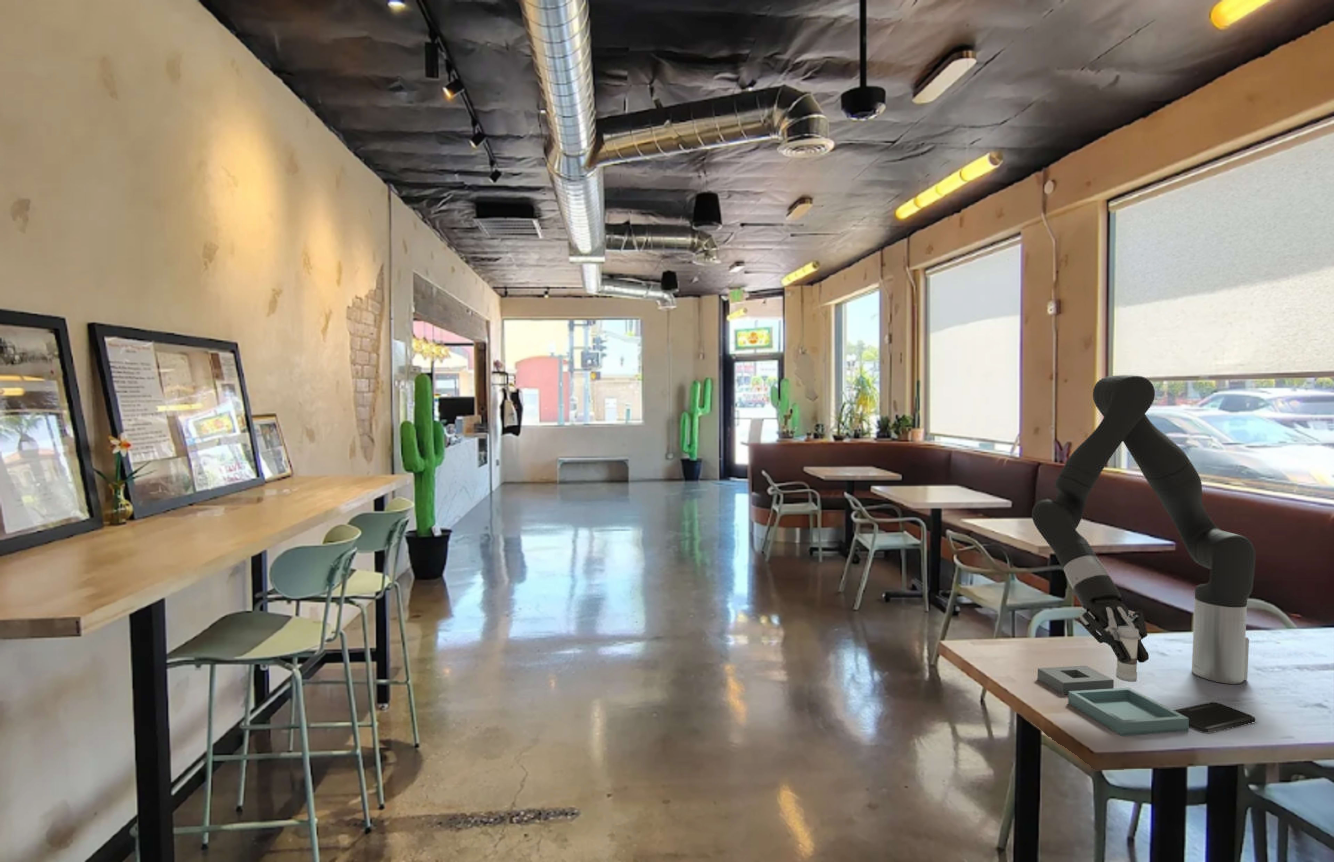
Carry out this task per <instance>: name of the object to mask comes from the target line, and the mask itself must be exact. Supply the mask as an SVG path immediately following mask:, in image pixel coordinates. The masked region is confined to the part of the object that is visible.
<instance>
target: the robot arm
mask: <svg viewBox="0 0 1334 862" xmlns="http://www.w3.org/2000/svg"><path fill="white" fill-rule="evenodd" d="M1155 395H1156V392H1155V387H1154V385H1153V382H1152V381H1150V380H1149V378H1147V377H1144V376H1142V375H1138V374H1117V375H1109V376H1104V377H1102V378H1101V379H1099V380H1098V381H1097V382H1096V383H1095V385H1094V387H1093V391H1092V399H1093V402H1094V404H1095V407H1096V408H1097V410H1098V411H1099V413H1100V414H1101V415H1102V416H1103V418H1102V419H1101V421H1100V423H1099V424H1098V426H1097V427H1096V428H1095V429H1094V430H1093V431H1092V433H1091V434H1090V435H1089V436H1088V437H1087V438H1086V439H1085V440H1084V441H1083V442H1082V443H1081V444H1080V445H1078V447H1077V448H1076V449H1075V450H1074V451H1073V452H1072V453H1071V455H1070V456H1069V458H1068V459H1067V461H1066V463H1065V464H1064V465H1063V468H1062V469H1061V471H1060V473H1059V474H1058V476H1057V477H1056V481H1055V483H1054V487H1055V490H1056V492H1057V496H1056V499H1048V498H1047V499H1041V500H1039V501H1038V502H1037V503H1035V504H1034V506H1033V508H1032V511H1031V519H1032V522H1033V524H1034V526H1035V527H1036V529H1037V531H1038V532H1039V534H1041V536H1042V538H1043V539H1044V540H1045V542H1046V543H1047V544H1048V545H1049V547H1050V548H1051V549H1052V551H1053V553H1054V554H1055V556H1056V559H1057V561H1058V562H1059V565H1060V566H1061V568H1062V569H1063V571H1064V574H1065V578H1066V579H1067V581H1068V583H1069V585H1070V587H1071V588H1072V590H1073V593H1074V594H1075V596H1076V598H1077V599H1078V601H1079V603H1080V605H1081V607H1082V608H1083V609H1084V610H1085V612H1084V613H1082V614H1081V615H1080V616H1079V617H1078V618H1077V621H1078V622H1079V623H1080V624H1081V626H1083V628H1084V629H1085V630H1086V631H1087V632H1088V633H1089V634H1090V635H1091V636H1092V637H1093V638H1094V639H1095V640H1096V641H1097V642H1098V643H1099V644H1103V643H1104V644H1107V645H1108V646H1109V647H1111V650H1112V651H1113V653H1114V655H1115V657H1116V659H1117V658H1118V659H1119V661H1121V663H1128V662H1129V661H1130V660H1131V656H1130V655H1129V653H1128V651H1127V649H1126V648H1125V646H1124V644H1123V642H1122V641H1119V640H1120V638H1119V635H1118V626H1130V627H1134V628H1137V629H1138V630H1139V638H1138V648H1137V663H1145V662H1147V661H1148V660H1149V657H1150V656H1149V653H1148V651H1147V649H1146V647H1145V646H1144V643H1143V642H1142V640H1143V639H1144V638H1147V637H1148V631H1147V627H1146V620H1145V616H1144V612H1142V611H1141V610H1136V611H1133V610H1130V609H1129V608H1128V607H1127V606H1126V605H1125V604H1124V603H1123V601H1122V595H1121V592H1120V591H1119V589H1118V587H1117V586H1116V585H1115V583H1114V581H1113V579H1112V577H1111V576H1110V574H1109V572H1108V571H1107V569H1106V567H1105V566H1104V565H1103V563H1102V562H1101V561H1100V559H1099V558H1098V556H1097V555H1096V553H1095V552H1094V550H1093V548H1092V546H1091V545H1090V544H1089V542H1088V541H1087V540H1086V539H1085V537H1084V536H1082V534H1080V533H1079V532H1078V531H1077V528H1078V527H1079V525H1080V523H1081V520H1082V517H1083V515H1084V511H1085V507H1086V505H1087V499H1088V496H1089V494H1090V493H1091V491H1092V489H1093V488H1094V486H1095V484H1096V482H1097V481H1098V479H1099V477H1100V475H1101V473H1102V472H1103V470H1104V468H1105V466H1106V465H1107V464H1108V462H1109V461H1110V459H1111V458H1112V456H1113V455H1114V453H1116V451H1117V450H1118V448H1119V447H1120V446H1121V445H1122V443H1123V444H1124V445H1125V448H1127V450H1128V452H1129V453H1130V455H1131V457H1132V458H1133V461H1134V462H1135V463H1136V465H1137V466H1138V469H1140V471H1141V473H1142V475H1143V477H1144V478H1145V480H1146V481H1147V482H1148V485H1149V487H1150V488H1151V489H1152V491H1153V492H1154V493H1155V495H1156V496H1157V498H1158V500H1159V501H1160V503H1161V504H1162V506H1163V508H1164V509H1165V511H1166V512H1167V514H1168V515H1169V517H1170V518H1171V521H1172V522H1173V523H1174V525H1175V528H1176V529H1177V532H1178V534H1179V536H1180V538H1181V541H1182V542H1183V545H1184V547H1185V549H1186V551H1187V553H1188V554H1189V556H1190V557H1191V559H1193V561H1194V562H1195V563H1196V564H1197V565H1200V566H1202V567H1203V568H1206V569H1209V570H1210V575H1209V581H1208V582H1207V583H1200V584H1198V585H1197V586H1195V589H1194V610H1193V611H1194V612H1193V614H1194V615H1193V633H1192V635H1193V636H1192V637H1193V638H1192V655H1191V657H1192V659H1191V672H1192V673H1193V674H1194V675H1196V676H1198V677H1199V678H1202V679H1206V680H1209V681H1212V682H1216V683H1223V684H1231V685H1232V684H1233V685H1235V684H1236V685H1237V684H1242V683H1243V682H1244V681H1247V680H1248V675H1249V674H1248V672H1249V650H1250V648H1249V647H1250V639H1249V637H1247V636H1246V633H1247V632H1246V631H1247V612H1248V611H1247V610H1248V607H1247V606H1248V599H1249V597H1250V596H1251V594H1252V591H1253V587H1254V577H1255V570H1256V549H1255V548H1254V547H1255V546H1254V545H1253V543H1252V542H1251V540H1250V539H1248V538H1247V537H1246V536H1244V535H1241V534H1238V533H1232V532H1230V531H1225V530H1221V529H1220V528H1219V527H1218V526H1217V525H1216V524H1215V522H1214V521H1213V520H1212V519H1211V517H1210V516H1209V514H1208V513H1207V511H1206V509H1205V507H1204V504H1203V485H1202V480H1201V479H1202V478H1201V477H1200V474H1199V473H1198V471H1197V469H1196V468H1195V466H1194V465H1193V463H1192V461H1191V460H1190V458H1189V457H1188V456H1187V454H1186V453H1185V452H1184V450H1183V449H1182V448H1181V447H1180V446H1179V445H1178V444H1176V443H1175V442H1174V441H1173V440H1172V439H1171V438H1169V437H1168V436H1167V435H1166V434H1164V433H1163V432H1162V431H1161V430H1160V429H1158V428H1157V427H1156V425H1154V424H1153V423H1152V422H1151V421H1150V419H1149V418H1148V417H1147V414H1146V413H1147V412H1148V411H1149V409H1150V408H1151V406H1152V405H1153V403H1154V400H1155V397H1156V396H1155Z"/></svg>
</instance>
